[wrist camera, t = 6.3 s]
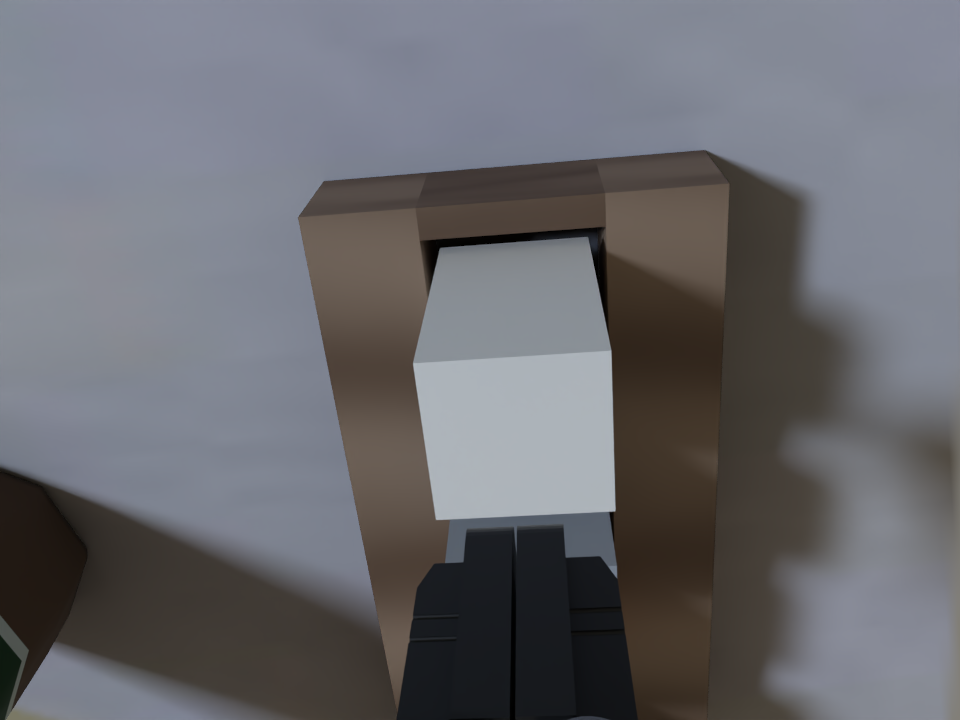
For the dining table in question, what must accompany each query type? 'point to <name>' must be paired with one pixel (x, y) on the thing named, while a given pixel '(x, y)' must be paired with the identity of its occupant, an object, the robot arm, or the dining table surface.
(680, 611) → the brown wooden slotted tray
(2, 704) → the beer bottle
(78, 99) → the dining table surface
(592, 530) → the key slate
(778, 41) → the dining table surface
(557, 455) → the key ivory
